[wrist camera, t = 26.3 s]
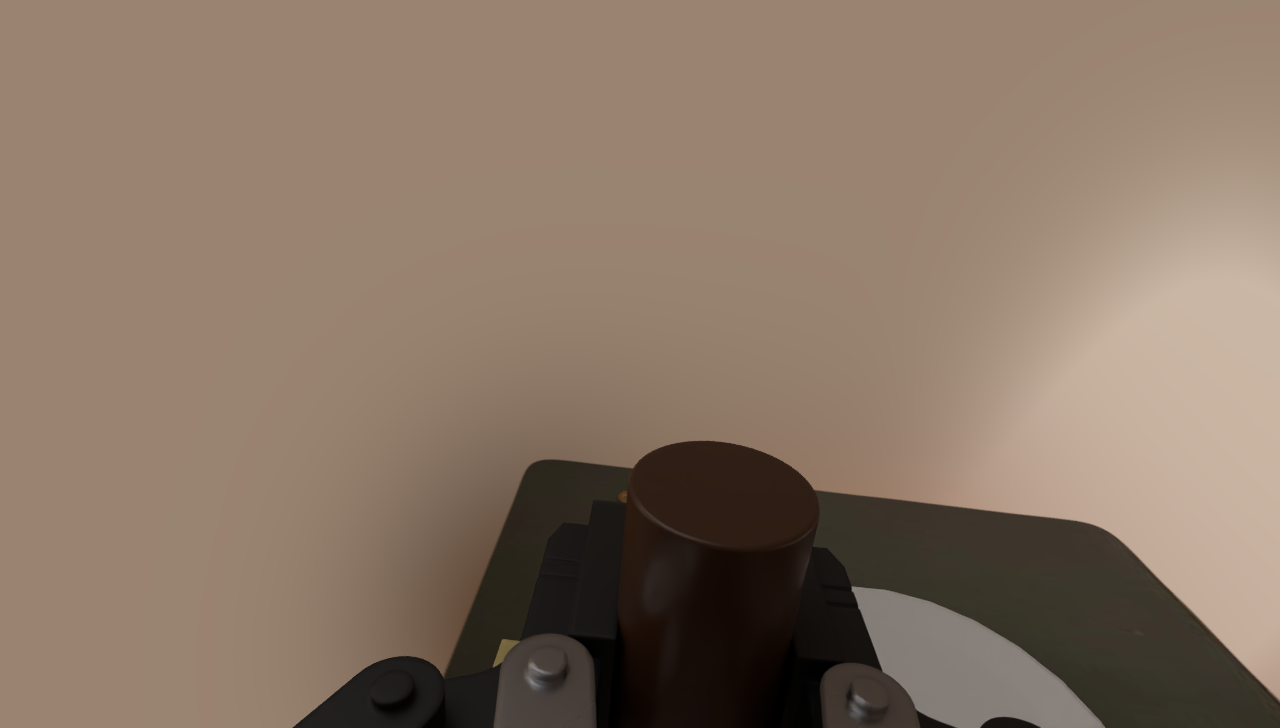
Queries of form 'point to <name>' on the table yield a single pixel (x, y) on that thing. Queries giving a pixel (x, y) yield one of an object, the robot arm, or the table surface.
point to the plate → (963, 666)
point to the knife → (709, 586)
